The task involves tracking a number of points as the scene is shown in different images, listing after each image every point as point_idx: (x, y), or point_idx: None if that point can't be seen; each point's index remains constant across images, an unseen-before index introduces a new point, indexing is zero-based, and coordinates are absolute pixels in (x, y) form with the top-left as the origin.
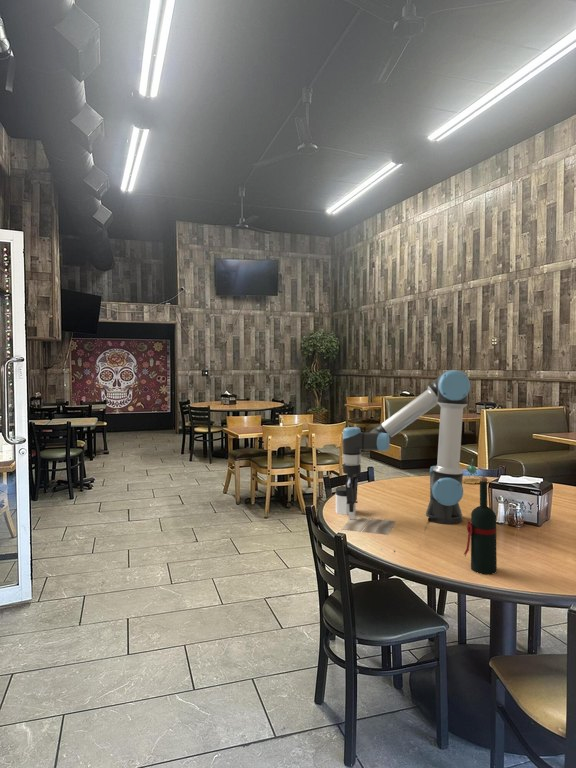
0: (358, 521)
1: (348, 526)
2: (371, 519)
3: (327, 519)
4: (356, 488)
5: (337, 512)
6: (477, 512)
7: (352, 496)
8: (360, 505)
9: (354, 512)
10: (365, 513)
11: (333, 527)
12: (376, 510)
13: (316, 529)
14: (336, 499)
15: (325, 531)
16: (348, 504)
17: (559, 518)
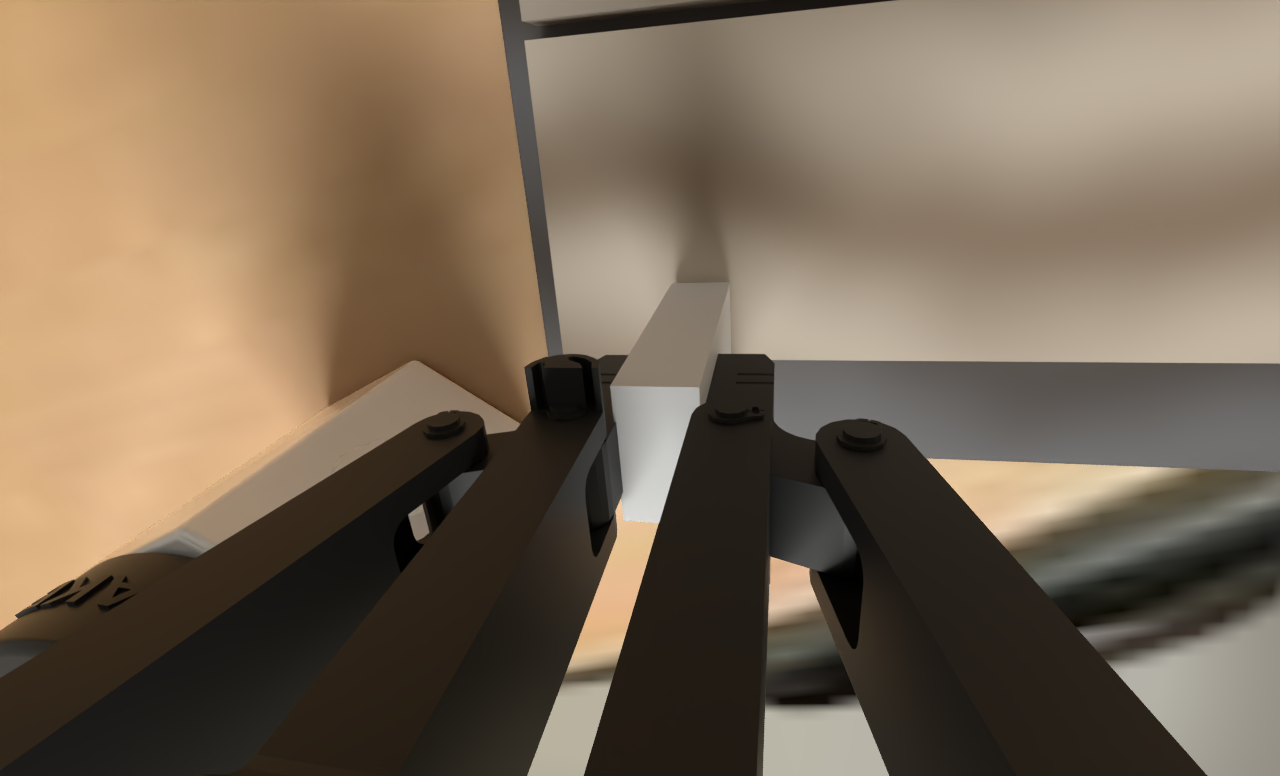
0: (780, 200)
1: (1136, 285)
2: (567, 8)
3: None
4: (178, 651)
5: None
6: None
7: (980, 587)
8: (28, 389)
9: (718, 324)
10: (237, 250)
11: (1003, 494)
12: (34, 142)
13: (1141, 657)
14: None
15: (1222, 552)
16: (417, 514)
17: None
